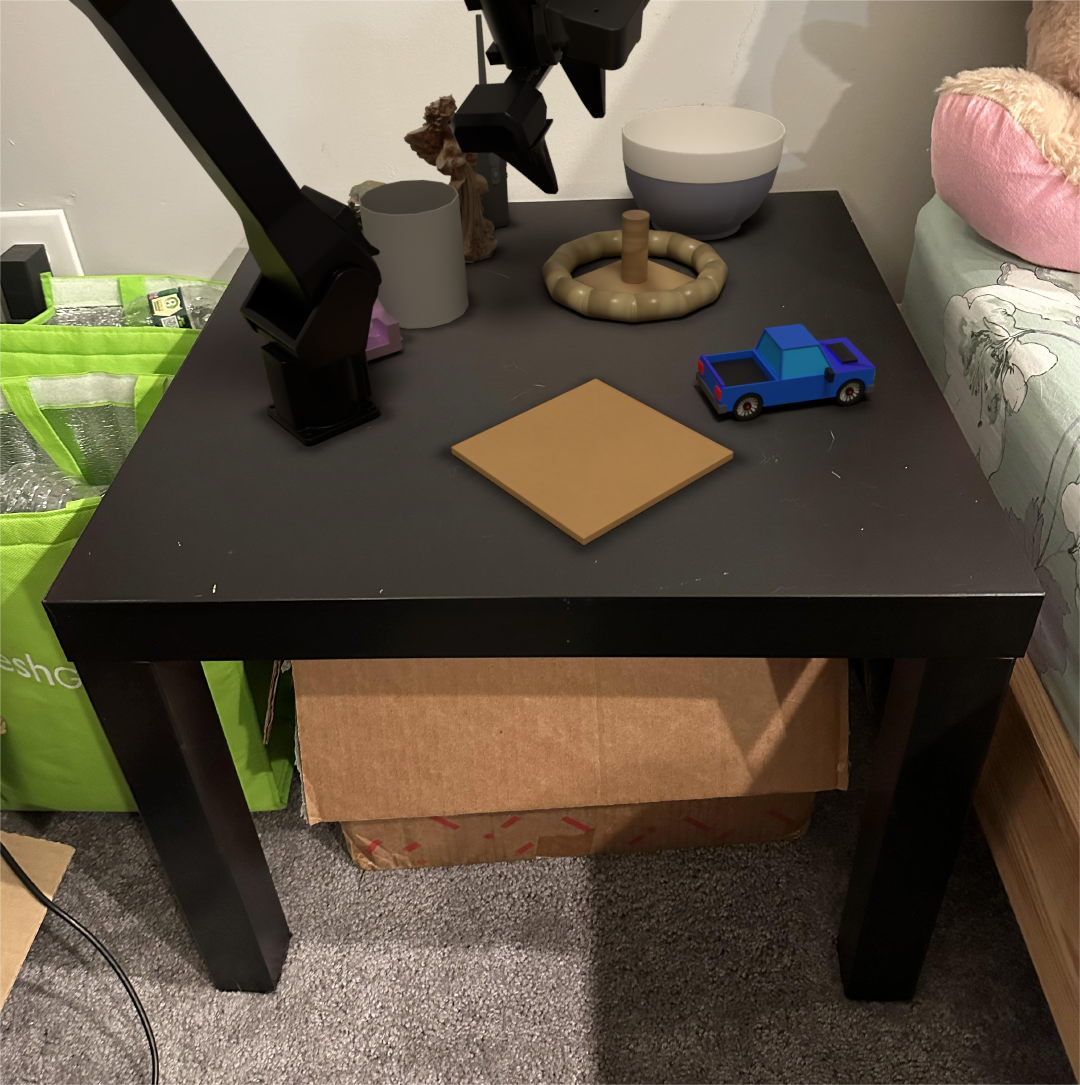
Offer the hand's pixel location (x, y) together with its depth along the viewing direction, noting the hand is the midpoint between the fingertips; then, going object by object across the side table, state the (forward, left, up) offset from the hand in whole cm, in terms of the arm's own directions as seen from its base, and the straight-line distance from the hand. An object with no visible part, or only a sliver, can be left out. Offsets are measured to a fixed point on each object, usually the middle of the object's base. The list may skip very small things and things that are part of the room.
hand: (576, 154), depth 77 cm
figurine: (0, +17, -14) cm, 22 cm away
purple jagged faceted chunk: (-18, +8, -14) cm, 24 cm away
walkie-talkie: (+7, +22, -14) cm, 27 cm away
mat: (-15, -18, -13) cm, 27 cm away
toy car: (+1, -22, -14) cm, 26 cm away
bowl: (+22, +6, -14) cm, 27 cm away
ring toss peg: (+7, 0, -13) cm, 15 cm away
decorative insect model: (-2, +29, -14) cm, 32 cm away
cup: (-10, +10, -14) cm, 20 cm away
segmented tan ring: (+7, 0, -12) cm, 14 cm away
